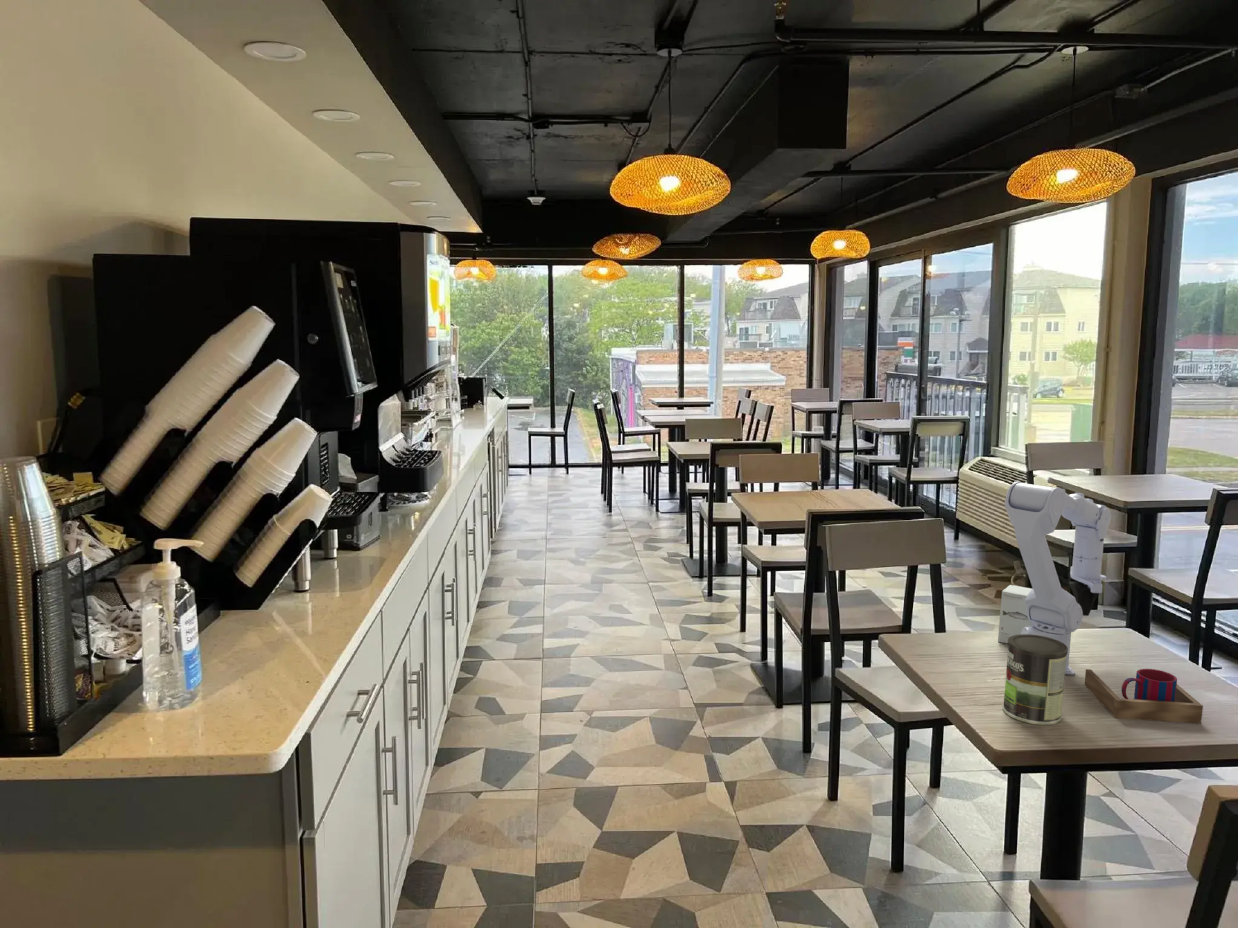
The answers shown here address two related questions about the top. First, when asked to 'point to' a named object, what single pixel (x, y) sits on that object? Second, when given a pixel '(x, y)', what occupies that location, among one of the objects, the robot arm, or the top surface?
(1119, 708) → the holder
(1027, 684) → the coffee can
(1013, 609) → the supplement box
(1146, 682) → the mug
